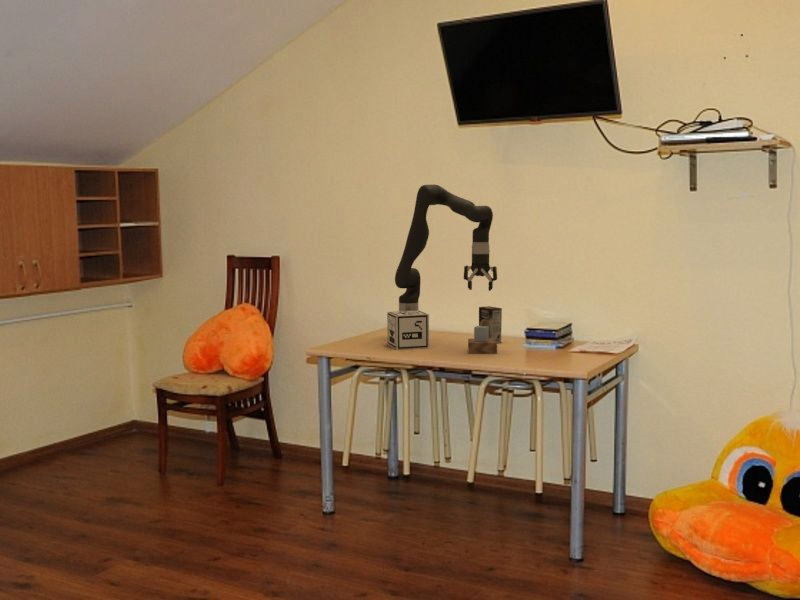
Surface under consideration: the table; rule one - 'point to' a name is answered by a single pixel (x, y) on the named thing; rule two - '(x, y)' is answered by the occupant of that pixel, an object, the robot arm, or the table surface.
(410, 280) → the robot arm
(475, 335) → the slate block
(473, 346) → the walnut block
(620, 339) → the table surface
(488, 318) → the coffee box
